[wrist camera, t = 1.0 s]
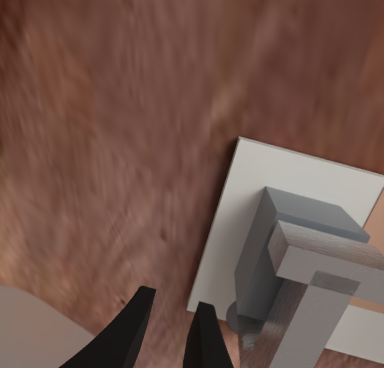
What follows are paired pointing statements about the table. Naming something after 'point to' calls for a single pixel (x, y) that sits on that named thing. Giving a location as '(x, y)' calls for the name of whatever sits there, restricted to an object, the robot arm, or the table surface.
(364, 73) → the table surface
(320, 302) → the latch
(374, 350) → the board
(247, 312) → the grey rectangular block
